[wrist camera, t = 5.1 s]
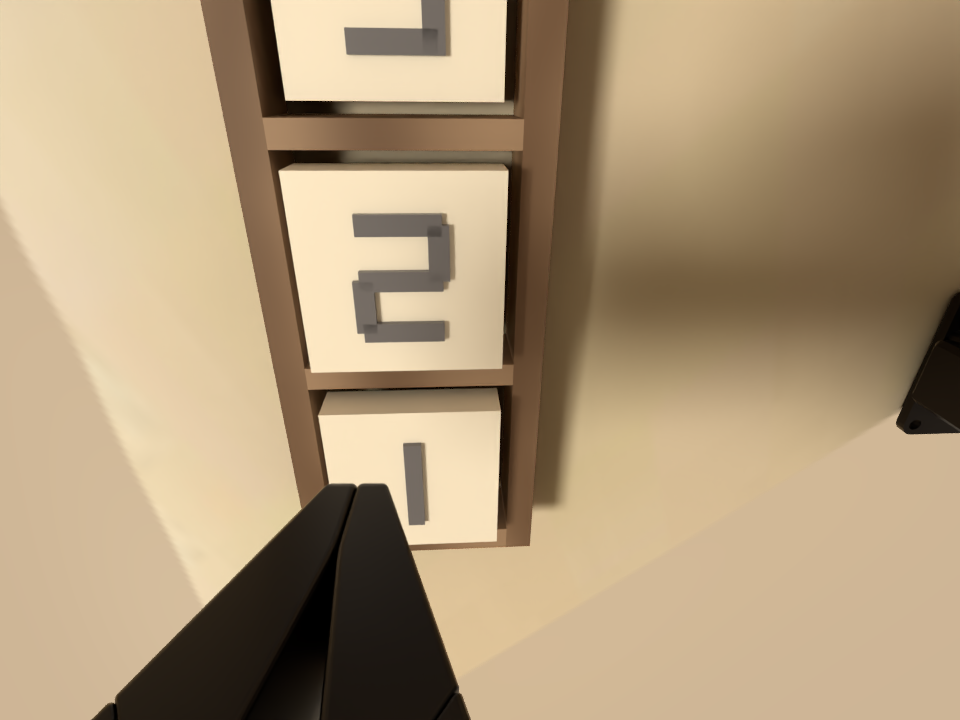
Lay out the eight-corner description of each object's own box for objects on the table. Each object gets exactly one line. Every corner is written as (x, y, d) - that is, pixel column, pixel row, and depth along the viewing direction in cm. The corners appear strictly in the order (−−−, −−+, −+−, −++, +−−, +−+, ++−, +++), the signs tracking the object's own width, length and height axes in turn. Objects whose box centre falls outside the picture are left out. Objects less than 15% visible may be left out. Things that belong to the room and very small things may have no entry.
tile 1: (496, 387, 19) (501, 414, 17) (493, 513, 22) (497, 545, 20) (327, 391, 18) (316, 418, 17) (346, 518, 21) (338, 551, 20)
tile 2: (502, 163, 15) (509, 172, 14) (497, 347, 18) (502, 371, 16) (293, 163, 15) (275, 171, 13) (321, 351, 18) (309, 375, 16)
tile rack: (566, -233, 13) (590, -300, 11) (521, 503, 24) (529, 546, 22) (191, -250, 12) (136, -323, 10) (323, 510, 24) (310, 554, 21)
